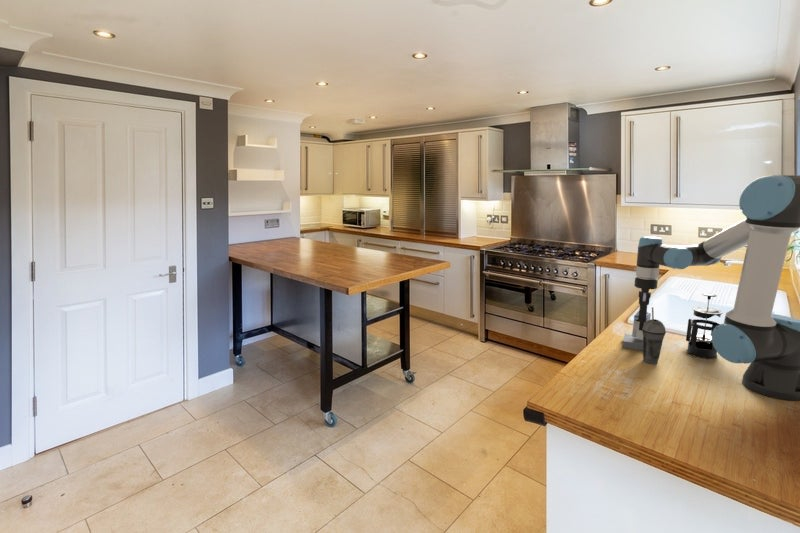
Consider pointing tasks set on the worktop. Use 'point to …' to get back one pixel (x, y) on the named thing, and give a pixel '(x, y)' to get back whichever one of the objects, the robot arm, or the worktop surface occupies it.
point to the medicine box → (637, 322)
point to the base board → (632, 342)
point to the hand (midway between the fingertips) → (640, 334)
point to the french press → (701, 342)
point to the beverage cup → (652, 339)
